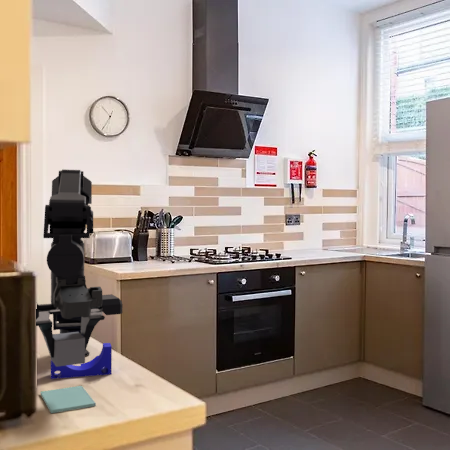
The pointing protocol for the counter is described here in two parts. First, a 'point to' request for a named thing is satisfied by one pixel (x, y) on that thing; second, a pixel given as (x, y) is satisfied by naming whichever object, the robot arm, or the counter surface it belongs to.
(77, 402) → the teal board
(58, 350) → the gray cube block
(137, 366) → the counter surface
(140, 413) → the counter surface
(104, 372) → the blue arched bracket
